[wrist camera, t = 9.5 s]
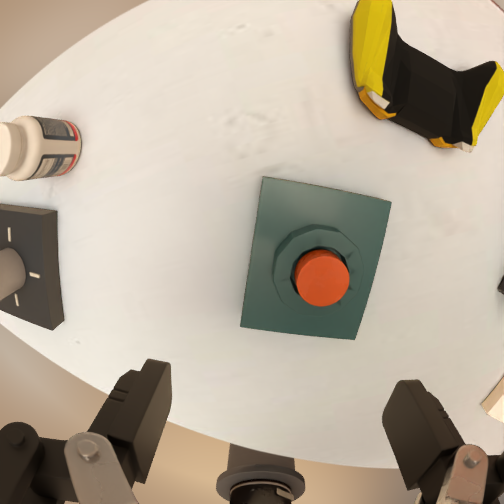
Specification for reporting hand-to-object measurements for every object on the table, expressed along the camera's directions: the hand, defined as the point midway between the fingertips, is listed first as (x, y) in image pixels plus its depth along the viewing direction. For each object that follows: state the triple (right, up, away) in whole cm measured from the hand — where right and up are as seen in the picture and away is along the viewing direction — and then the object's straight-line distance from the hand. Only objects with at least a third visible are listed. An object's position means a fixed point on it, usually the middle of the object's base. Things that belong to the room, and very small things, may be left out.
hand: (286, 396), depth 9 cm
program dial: (-26, +3, +14) cm, 29 cm away
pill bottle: (-19, +15, +14) cm, 27 cm away
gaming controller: (+13, +19, +11) cm, 26 cm away
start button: (+4, +3, +12) cm, 13 cm away
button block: (+4, +4, +15) cm, 16 cm away
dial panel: (-26, +4, +17) cm, 31 cm away
